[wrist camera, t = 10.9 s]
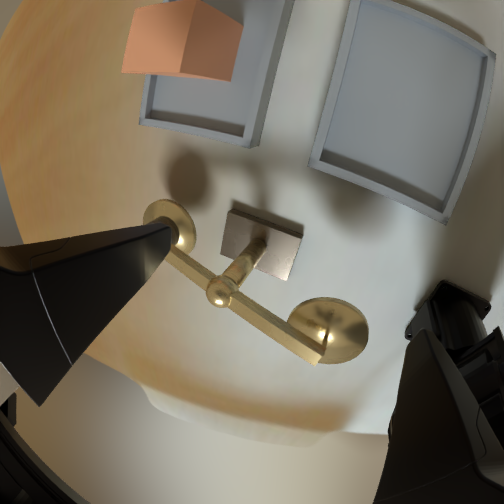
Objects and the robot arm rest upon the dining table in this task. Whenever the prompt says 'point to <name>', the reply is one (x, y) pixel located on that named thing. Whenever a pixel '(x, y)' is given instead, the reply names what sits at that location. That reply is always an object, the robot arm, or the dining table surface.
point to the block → (182, 41)
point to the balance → (276, 264)
